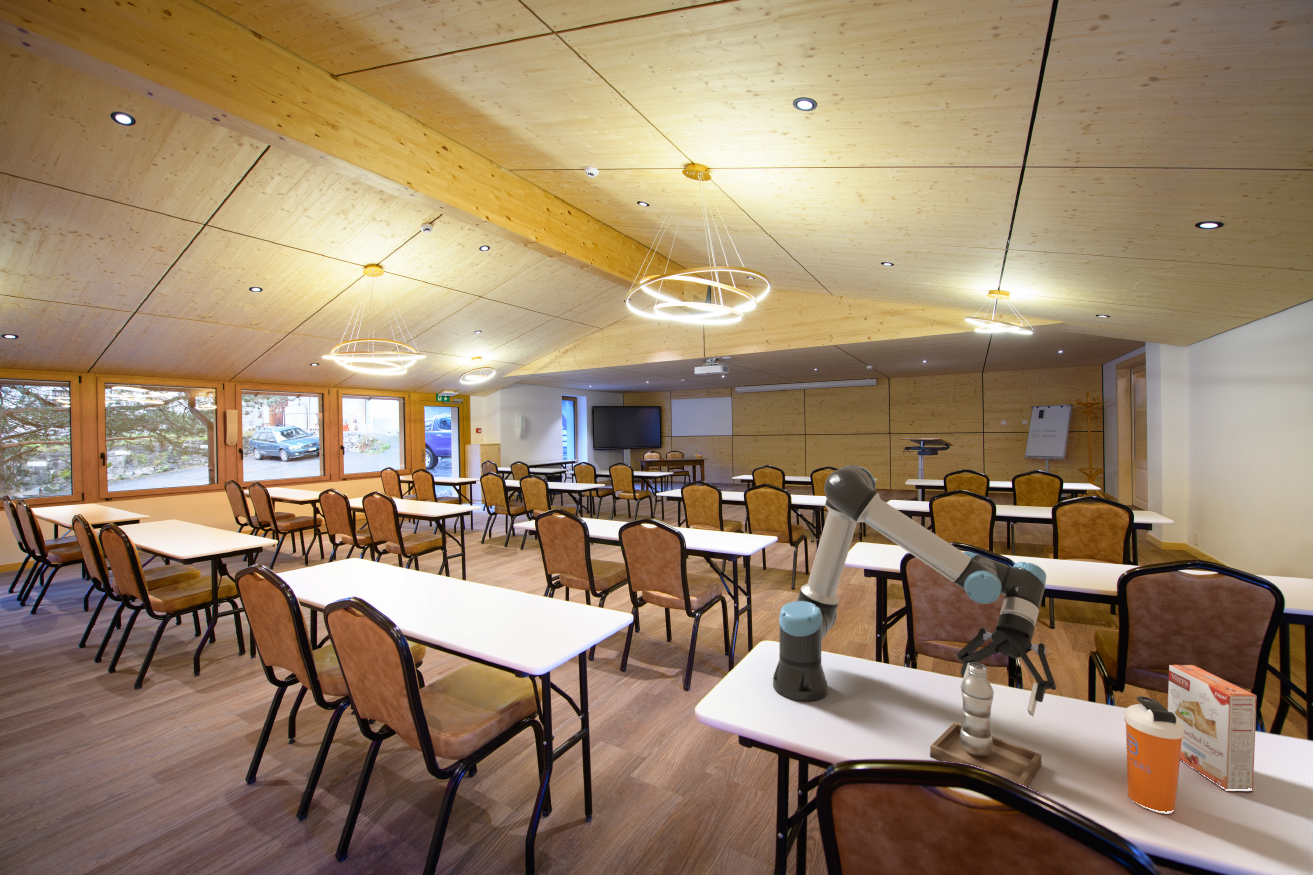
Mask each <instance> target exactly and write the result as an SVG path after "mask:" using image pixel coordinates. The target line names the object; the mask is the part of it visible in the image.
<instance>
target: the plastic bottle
mask: <svg viewBox="0 0 1313 875" xmlns="http://www.w3.org/2000/svg"><path fill="white" fill-rule="evenodd" d="M968 673H969V675H967V676H966V677H965V678H964V677H963V678H964V679H963V678H962V681H961V684H960V691H961V692H960V693H961V698H962V709H963V710H962V722H961V724H962V727H961V731H960V743H961V745H962V747H963V749H964V750H965V751H967V752H968V753H970V754H972V755H975V756H978V757H987V756H989V755H990V754H991V753H992V749H993V741H992V736H993V735H992V729H991V728H992V727H991V715H992V706H993V699H994V694H995V693H994V689H993V686H992V685H991V683H990V681H989V679H987V677H989V676H988V667H987V666H986V665H985V664H982V663H980V662H978V663H974V662H972V663H969V669H968Z"/></svg>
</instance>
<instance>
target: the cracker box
mask: <svg viewBox="0 0 1313 875" xmlns="http://www.w3.org/2000/svg"><path fill="white" fill-rule="evenodd" d="M1167 695H1168V696H1167V711H1168V712H1173V713H1174V714H1175V715H1176V717H1177V718H1178V719H1179V720H1180V721H1181V723H1182V724H1183V725H1184V737H1183V738H1182V745H1181V755H1180V759H1181V760H1182V761H1184V762H1185V763H1187V764H1188V765H1189V766H1191V767H1193V768H1194V769H1196V770H1197V771H1198V772H1200V773H1201V774H1203V775H1205V776H1206V777H1208V778H1209V779H1211V780H1212V781H1214V782H1215V783H1217V784H1218V785H1220V786H1222V787H1224V788H1225V789H1248V788H1250V789H1251V788H1252V789H1253V790H1254V778H1255V777H1254V775H1255V774H1254V771H1255V750H1256V749H1255V747H1256V726H1257V725H1256V721H1257V720H1256V719H1257V695H1256V694H1254V693H1252V692H1250V691H1249V690H1246V689H1244V688H1242V687H1240V686H1237V685H1236V684H1234V683H1231V682H1229V681H1228V680H1225V679H1223V678H1221V677H1219V676H1217V675H1215V674H1212V673H1211V672H1208V671H1206V670H1204V669H1202V668H1201V667H1198V666H1197V665H1194V664H1183V665H1182V664H1169V667H1168V694H1167ZM1182 761H1181V762H1182ZM1185 763H1184V764H1185ZM1188 765H1187V766H1188ZM1189 766H1188V767H1189ZM1191 767H1190V768H1191ZM1198 772H1197V773H1198ZM1201 774H1200V775H1201Z"/></svg>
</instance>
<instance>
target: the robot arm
mask: <svg viewBox="0 0 1313 875" xmlns="http://www.w3.org/2000/svg"><path fill="white" fill-rule="evenodd" d="M823 488H824V489H823V490H824V491H823V492H824V495H825V498H826V499H825V504H824V506H825V507H826V509H827V516H826V518H825V522H824V526H823V530H822V532H821V536H820V539H819V543H818V547H817V550H816V554H815V555H814V556H815V557H814V561H813V564H812V567H811V570H810V574H809V577H808V581H807V583H805V584H804V585H802V586H801V587H800V590H799V594H798V596H797V600H794V601H792V602H787V603H785V604H784V605H783V606H782V607H781V608H780V610H779V611H780V612H779V619H778V622H779V624H778V625H779V659H778V662H777V664H776V668H775V671H774V673H773V676H772V686H773V689H774V691H775V692H777V694H779V695H781V696H783V697H785V698H787V699H790V700H793V701H800V702H801V701H802V702H814V701H818V700H822V699H823V698H825V697H826V696H827V694H828V685H829V684H828V681H827V679H826V674H825V670H824V668H823V665H822V646H823V645H822V641H823V639H824V638H825V637H826V635H827V633H829V631H830V630H831V629H832V628H833V627H834V625H835V623H836V620H837V609H838V606H839V602H840V599H839V597H838V595H837V591H838V588H839V584H840V580H841V578H842V574H843V570H844V568H845V563H846V561H847V557H848V555H849V550H850V548H851V545H852V542H853V541H852V540H853V537H854V534H855V531H856V528H857V525H858V523H865V525H868V526H869V527H871V528H872V529H873V530H875V531H877V532H878V533H880V534H881V535H882V536H883V537H885V538H887V539H888V540H890V541H892V542H893V543H894V544H896V545H898V547H900V548H902V549H904V550H905V551H906V552H908V553H910V554H911V555H912V556H914V557H915V558H917V559H918V560H920V561H921V562H922V563H924V564H926V565H927V566H928V567H930V568H932V569H933V570H934V571H936V572H937V573H939V574H941V575H942V576H943V577H945V578H946V579H948V580H949V581H951V582H953V584H955V585H956V586H958V587H959V588H961V589H962V590H964V592H965V593H966V595H967V596H968V597H969V598H970V600H972V601H974V602H975V603H978V604H981V605H982V604H984V605H986V604H991V603H994V602H995V601H997V600H998V599H999V597H1000V595H1001V594H1002V595H1004V599H1003V602H1002V605H1001V609H1000V612H999V616H998V619H997V623H996V626H995V630H994V632H990V631H987V630H986V629H985V628H984V627H981V628H980V629H979V631H978V633H977V635H975V636H974V637H973V638H972V639H971V640H970V641H969V642H968V643H967V644H966V645H965V646H963V647H962V648H961V649H960V650H959V651H958V652H957V653H956V656H957V659H958V660H959V662H962V663H963V664H962V666H961V669H960V675H961V677H962V680H963V679H964V678H965V677H966V676H967V675H969V673H968V669H969V663H972V662H974V663H980V662H981V661H983V660H985V659H987V658H989V657H992V655H997V654H999V653H1000V654H1001V655H1002V656H1005V657H1006V656H1008V657H1011V658H1013V659H1017V658H1018V659H1019V658H1020V659H1021V661H1022V662H1023V663H1024V665H1025V666H1026V667H1027V670H1028V671H1029V672H1030V674H1031V675H1032V677H1033V678H1034V679H1033V680H1034V681H1036V682H1033V683H1032V688H1031V692H1030V696H1029V699H1028V700H1029V701H1028V705H1027V709H1026V710H1027V712H1028V715H1029V716H1032V717H1034V716H1035V711H1036V708H1037V702H1038V703H1043V701H1044V697H1045V693H1046V690H1053V691H1056V689H1057V685H1056V683H1055V680H1054V676H1053V674H1052V671H1051V669H1050V665H1049V663H1048V660H1047V648H1046V646H1045V644H1044V643H1042V642H1040V643H1038V644H1035V643H1032V641H1033V636H1034V633H1035V629H1036V628H1035V626H1036V624H1037V620H1038V616H1039V612H1040V607H1041V605H1042V604H1041V603H1042V600H1043V595H1044V592H1045V590H1046V582H1047V574H1046V571H1045V570H1044V569H1043V568H1042V567H1041V566H1039V565H1037V564H1035V563H1032V562H1025V561H1018V562H1016V563H1014V564H1013V566H1011V565H1007V564H1005V563H1002V562H999V561H996V560H994V559H991V558H989V557H987V556H983V555H981V554H979V553H976V552H975V553H974V552H972V551H968V550H966V551H962V550H960V549H958V548H957V547H955V546H954V545H952V544H951V543H949V542H947V541H946V540H944V539H943V538H941V537H939V535H937V534H935V533H934V532H932V531H931V530H929V529H928V528H926V527H925V526H923V525H921V524H920V523H919V522H916V521H915V520H914V519H912V518H910V517H909V516H908V515H906V514H904V513H902V511H900V510H898V509H896V508H895V507H893V506H892V505H890V504H889V503H887V502H886V501H884V500H882V499H881V497H880V493H879V492H877V491H876V481H875V478H874V476H873V475H872V473H871V472H870V471H869V470H868V469H866V468H865V467H862V466H859V465H846V466H842V467H841V468H839V469H836V470H833V472H831V473H830V474H829V475H828V477H827V478H826V479H825V482H824V486H823ZM990 639H991V640H992V641H991V642H989V643H988V644H987V645H986V646H984V647H982V648H980V647H981V646H982V645H983V644H985V642H987V641H988V640H990ZM979 648H980V649H979ZM1032 650H1033V651H1034V652H1035V654H1036V655H1038V657H1039V660H1040V663H1041V665H1042V669H1043V671H1044V672H1043V673H1044V674H1045V677H1046V680H1045V679H1043V678H1042V676H1041V675H1040V673H1039V671H1038V670H1037V668H1036V667H1035V665H1034V664H1033V662H1032V660H1031V659H1030V657H1029V656H1028V654H1027V653H1029V652H1031V651H1032Z"/></svg>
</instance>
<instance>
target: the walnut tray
mask: <svg viewBox="0 0 1313 875" xmlns="http://www.w3.org/2000/svg"><path fill="white" fill-rule="evenodd" d="M961 727H962V723H960V722H956V721H954V722H953V723H952V724H951V725H950V726H949V727H948V728H947V729H946V730H944V732H942V733H941V735H940V736H939V737H937V739H936V740H935V741H934V742H933V743H932V744H930V746H929V747H930V749H929V751H930V752H929V757H930V758H932V759H934V760H936V761H939V762H941V761H946V762H954V763H962V764H967V765H973V766H976V767H979V768H982V769H986V770H987V771H990V772H992V773H995V774H998V775H1000V776H1003V777H1005V778H1007V779H1010V780H1012V781H1014V782H1016V783H1018V784H1021V785H1024V786H1026V787H1028V788H1029V787H1030V785H1031V783H1032V781H1033V780H1034V778H1035V777H1036V775H1037V773H1038V772H1039V770H1040V769H1041V767H1042V754H1041V753H1038V752H1035V751H1033V750H1030V749H1028V748H1024V747H1023V746H1019V745H1017V744H1014V743H1011V742H1009V741H1007V740H1004V739H1001V738H999V737H996V736H993V735H991V736H992V741H993V749H992V753H991V754H990V755H989V756H987V757H978V756H975V755H972V754H970V753H968V752H967V751H965V750H964V749H963V747H962V745H961V743H960V731H961Z"/></svg>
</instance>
